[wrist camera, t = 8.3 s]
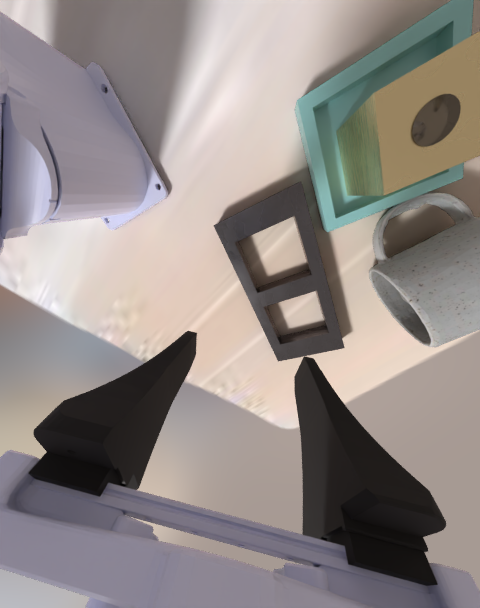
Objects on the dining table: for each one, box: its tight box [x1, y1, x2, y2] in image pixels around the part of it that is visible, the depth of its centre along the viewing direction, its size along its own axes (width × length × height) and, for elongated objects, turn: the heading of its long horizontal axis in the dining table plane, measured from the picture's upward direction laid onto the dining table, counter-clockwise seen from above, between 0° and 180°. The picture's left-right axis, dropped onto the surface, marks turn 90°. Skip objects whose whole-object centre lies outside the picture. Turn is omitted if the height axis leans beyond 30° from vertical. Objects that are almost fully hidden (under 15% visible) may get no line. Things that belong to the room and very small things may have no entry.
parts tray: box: [295, 0, 474, 232], centre depth 13 cm, size 9×9×2 cm
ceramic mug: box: [369, 192, 480, 347], centre depth 14 cm, size 11×8×8 cm
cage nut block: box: [336, 31, 480, 196], centre depth 11 cm, size 4×4×6 cm
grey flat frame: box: [214, 182, 344, 361], centre depth 20 cm, size 18×8×2 cm, turn 25°
